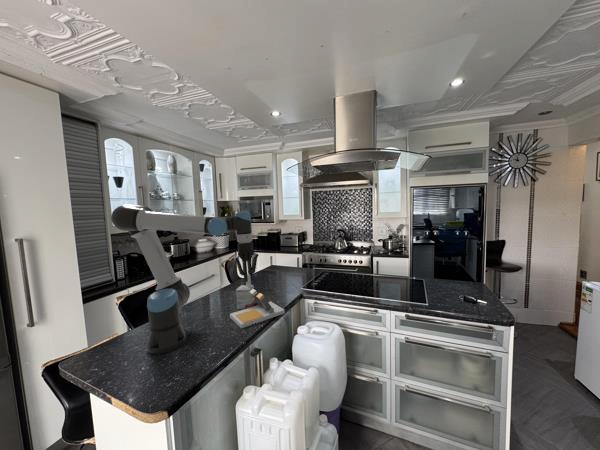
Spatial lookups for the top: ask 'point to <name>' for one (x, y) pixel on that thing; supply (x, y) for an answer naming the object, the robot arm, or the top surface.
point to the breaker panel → (255, 314)
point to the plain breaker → (254, 294)
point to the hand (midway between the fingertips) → (248, 287)
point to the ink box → (244, 297)
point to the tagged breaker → (264, 301)
